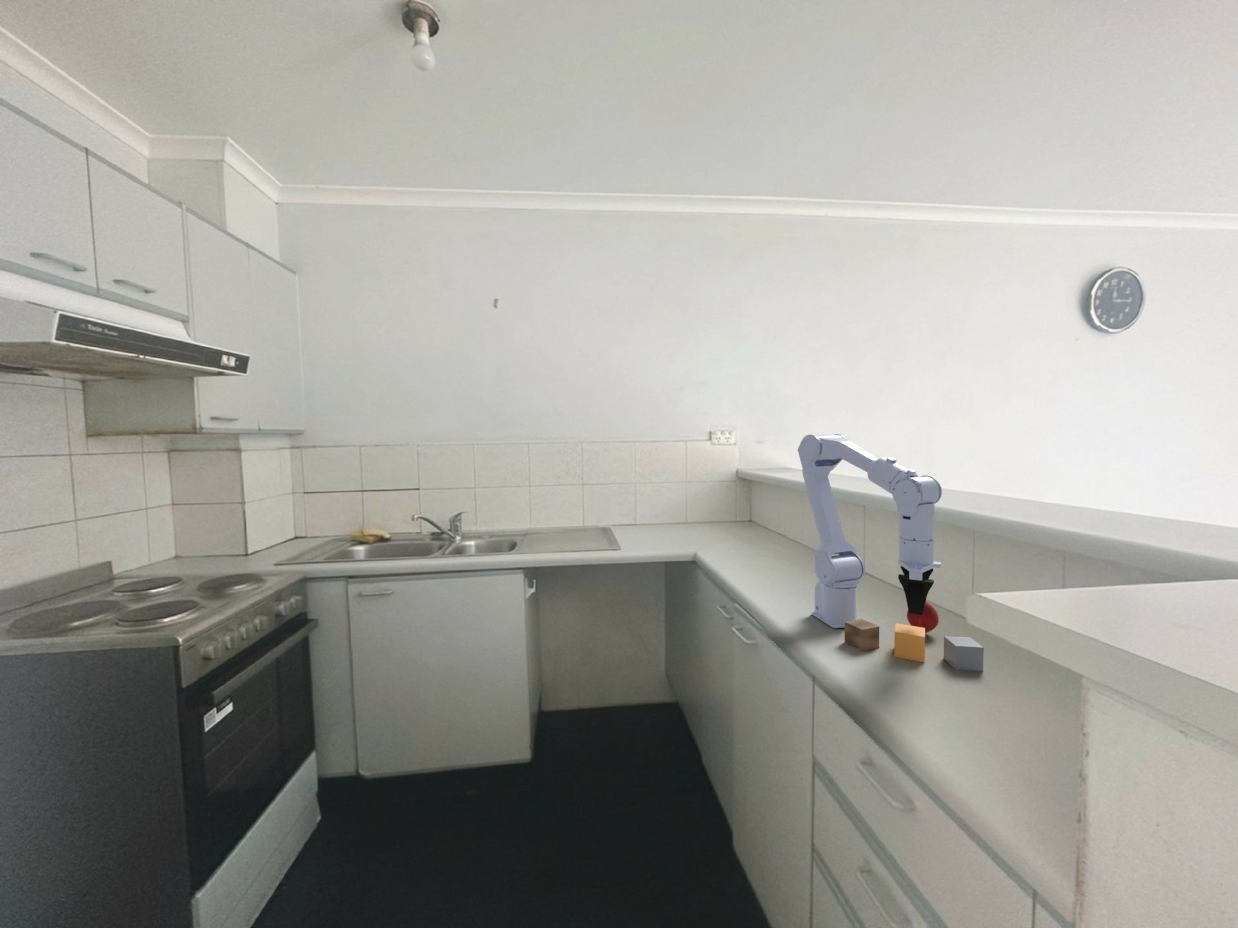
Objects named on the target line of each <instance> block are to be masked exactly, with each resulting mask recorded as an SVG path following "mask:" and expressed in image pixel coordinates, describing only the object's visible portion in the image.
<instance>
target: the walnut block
mask: <svg viewBox="0 0 1238 928" xmlns="http://www.w3.org/2000/svg"><path fill="white" fill-rule="evenodd" d="M844 643H845V644H847V645H848V646H851V647H853V648H854V649H857V650H859V651H861V652H865V651H870V650H875V649H879V648H880V626H879V625H877V624H874V623H872V622H870V621H867V620H865V619H863V618H859V619H858V618H857V620H851V621H846V622H845V628H844Z"/></svg>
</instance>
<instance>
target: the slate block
mask: <svg viewBox="0 0 1238 928" xmlns="http://www.w3.org/2000/svg"><path fill="white" fill-rule="evenodd" d="M984 650H985V649H984V646H982V645H981V644H980V643H979V642H977V641H975V639H973V638H972V637H970V636H955V635H954V636H951V635H950V636H949V635H944V636H943V659H944V660H945V661H946V662H947V663H948V664H949V665H950V666H952V668H953V669H954V670H957V671H973V672H974V671H976V672H984Z"/></svg>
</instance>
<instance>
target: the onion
mask: <svg viewBox="0 0 1238 928" xmlns="http://www.w3.org/2000/svg"><path fill="white" fill-rule="evenodd" d="M906 619H907V622H908V623H909V625H910V626H916V627H922V628H925V634H927V633H930V632H932V631H933V630H935V629H936V628H937V626H939V625H938V624H939V620H940V619H939V614H938V612H937V610H936V609H935V607H934V606H933V605H931V604H930V603H929V602H927V601H926V602H925V607H924V611H923V614H922V615H918V614H911V613H909V610H908V609H907V612H906Z"/></svg>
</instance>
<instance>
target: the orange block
mask: <svg viewBox="0 0 1238 928" xmlns="http://www.w3.org/2000/svg"><path fill="white" fill-rule="evenodd" d="M893 647H894V653H893V655H894V657H895V658H901V659H907V660H909V661H910V660H911V661H915V662H921V663H926V660H925V659H926V633H925V628H922V627H916V626H911V625H910V624H909V625H908V624H902V623H897V622H896V623H895V626H894V646H893Z"/></svg>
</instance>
